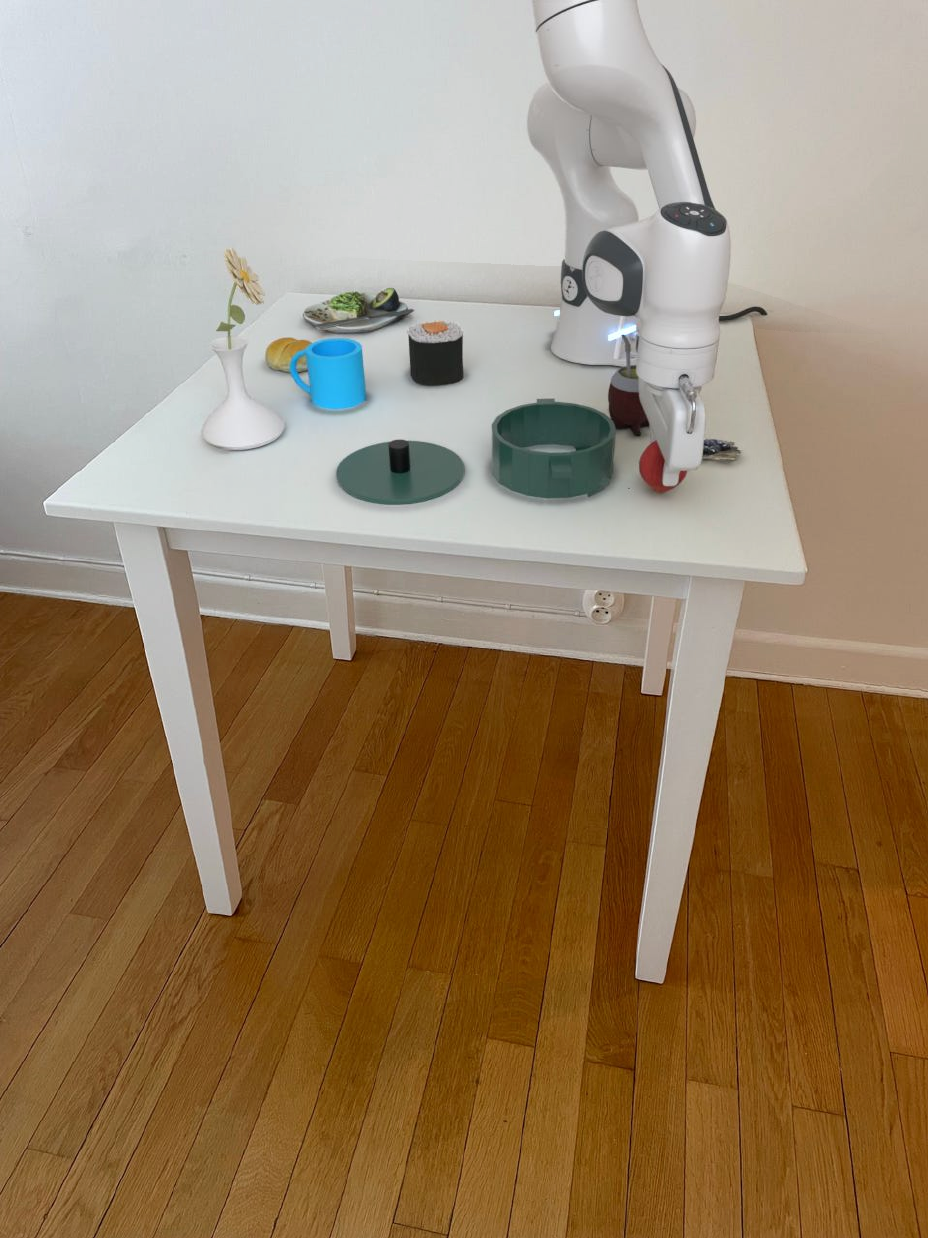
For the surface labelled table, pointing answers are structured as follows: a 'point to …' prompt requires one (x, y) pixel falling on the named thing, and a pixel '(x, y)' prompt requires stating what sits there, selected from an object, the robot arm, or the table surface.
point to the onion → (655, 468)
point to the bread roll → (286, 354)
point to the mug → (333, 373)
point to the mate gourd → (626, 397)
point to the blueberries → (720, 450)
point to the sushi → (436, 353)
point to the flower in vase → (239, 377)
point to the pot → (553, 470)
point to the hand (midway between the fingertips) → (662, 469)
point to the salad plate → (357, 312)
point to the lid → (400, 472)
